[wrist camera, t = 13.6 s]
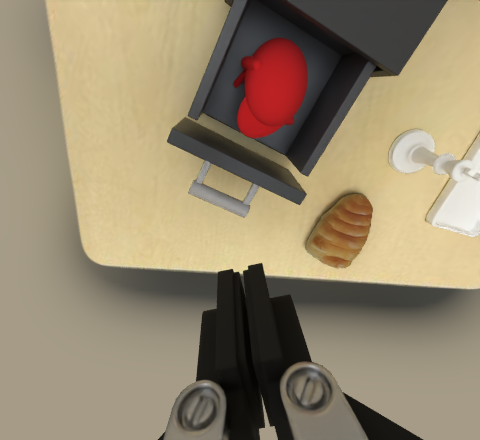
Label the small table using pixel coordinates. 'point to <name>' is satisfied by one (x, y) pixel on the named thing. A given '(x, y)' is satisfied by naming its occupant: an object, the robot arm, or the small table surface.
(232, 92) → the drawer
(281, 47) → the red rounded lump
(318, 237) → the pastry
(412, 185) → the small table surface
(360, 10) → the cabinet
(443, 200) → the phone case
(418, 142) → the chess piece
